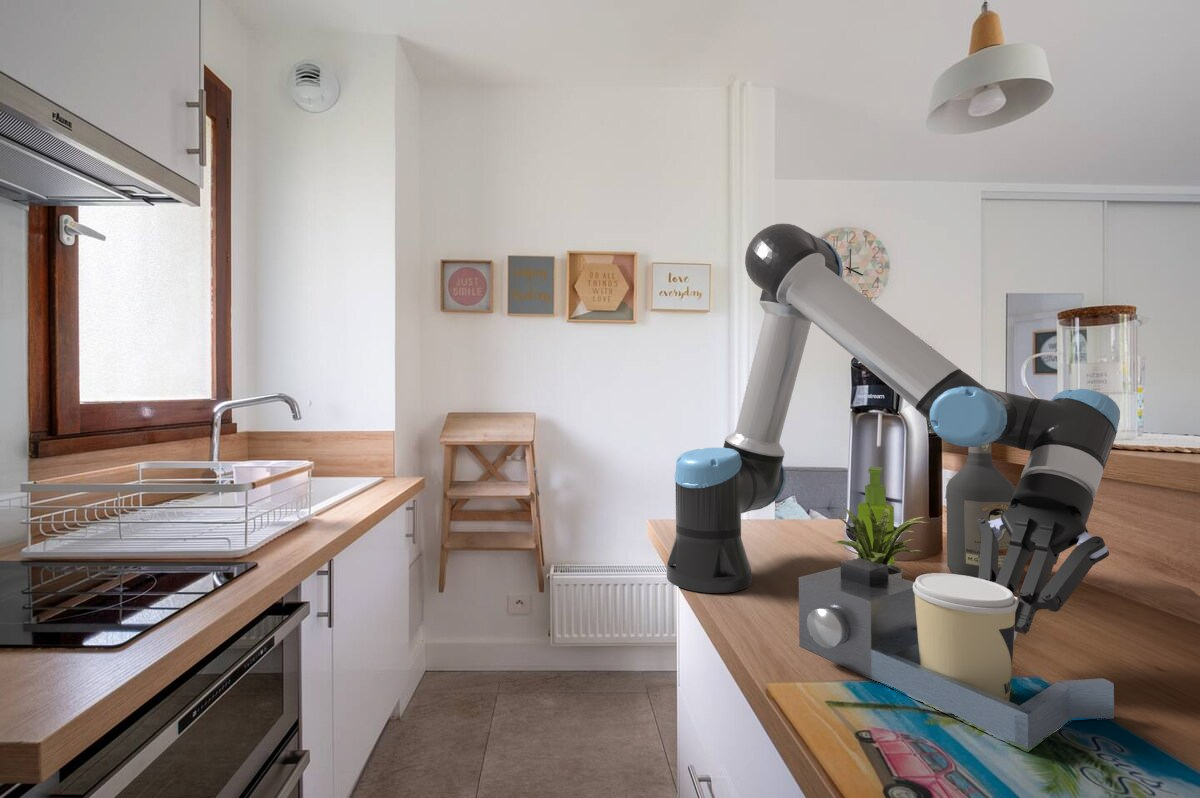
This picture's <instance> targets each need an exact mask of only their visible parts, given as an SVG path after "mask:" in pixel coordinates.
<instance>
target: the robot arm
mask: <svg viewBox="0 0 1200 798" xmlns="http://www.w3.org/2000/svg"><path fill="white" fill-rule="evenodd" d="M744 265H745V270H746V273H747V275H748V277H749V279H750V280H751V281H752V283H753V284H754V285H756V286H757V287H758V288H760V289H761V293H760V299H759V302H758V303H759V304H760V307H761V308H762V310H763V311H764V317H763V320H762V323H761V327H760V332H759V334H758V339H757V344H756V347H755V351H754V356H753V361H752V363H751V364H752V365H751V367H750V372H749V376H748V379H747V384H746V387H745V388H746V389H745V392H744V396H743V398H742V399H743V400H742V404H741V408H740V411H739V416H738V420H737V424H736V428H735V431H733V433H730V434H728V435H727V436H725V439H724V443H723V447H705V448H697V449H691V450H688V451H685V452H683V453H681V454H680V455H679V456H678V457H677V458H676V463H675V473H674V481H675V538H674V541H673V544H672V547H671V550H670V553H669V556H668V560H667V563H666V580H667V582H669V583H670V584H672V585H673V586H676V587H679V588H681V589H684V590H688V591H691V592H692V591H693V592H697V593H709V594H711V593H712V594H724V593H725V594H726V593H735V592H739V591H743V590H745V589H747V588H749V587H750V586H751V585H752V579H753V577H752V575H753V573H752V567H751V564H750V561H749V559H748V555H747V553H746V548H745V546H744V543H743V540H742V514H744V513H747V512H751V511H757V510H761V509H764V508H767V507H768V506H770V505H771V504H772V503H774V502H776V501H777V499H779V498H780V497H781V495H782V494H783V492H784V489H785V487H786V483H787V482H786V481H787V473H786V469H785V468H784V465H783V461H784V458H785V450H784V449H783V447H782V445H781V443H780V441H781V437H782V434H783V429H784V426H785V422H786V419H787V416H788V415H787V414H788V411H789V407H790V403H791V400H792V395H793V392H794V388H795V386H796V385H795V384H796V380H797V377H798V374H799V369H800V365H801V363H802V359H803V354H804V350H805V347H806V344H807V339H808V337H809V333H810V328H811V325H812V324H814V325H815V326H817V327H818V328H819V329H820V330H821V331H823V333H825V334H826V336H828V337H830V338H831V339H832V340H833V341H834V342H836V343H837V344H838V345H839V346H840V347H842V348H843V350H846V352H847V353H849V354H850V356H852V357H853V358H855V359H856V360H857V361H858V362H860V363H861V364H862V365H863V366H864V367H865V368H866V369H868V370H869V371H870V372H871V373H873V374H874V375H875V376H876V377H878V378H879V380H881V381H882V382H883V383H885V384H886V385H887V386H888V387H889V388H890V389H892V390H893V392H895V393H896V394H898V395H899V397H901V398H902V399H904V400H905V401H906V402H907V403H908V404H909V405H911V406H912V407H913V408H915V409H916V411H918V412H919V414H920V415H921V416H923V417H924V418H925V419H926V420H927V421H929V422H930V425H931V427H932V429H933V431H934V433H935V434H936V435H937V436H938V437H939V438H940V439H942V440H943V441H945V442H947V443H949V444H951V445H954V446H957V447H962V448H965V447H967V448H969V447H979V446H984V445H986V444H988V443H990V442H991V443H993V444H997V445H998V444H999V445H1002V446H1007V447H1010V448H1011V447H1012V448H1015V449H1018V450H1023V451H1028V452H1030V453H1029V457H1028V459H1027V460H1026V463H1025V465H1024V467H1023V469H1022V472H1021V474H1020V479H1019V480H1018V482H1017V484H1016V487H1015V492H1014V494H1013V497H1012V499H1011V504H1010V507H1009V509H1008V510H1006V511H1005V512H1004V513H1003V514H1002V515H1001V518H999V519H995V520H991V521H988V520H987V519H985V518H980V519H978V520H977V523H978V526H979V528H980V530H981V532H982V534H981V548H980V562H979V575H978V578H980V579H984V580H988V581H991V582H994V583H997V584H999V585H1002V586H1004V587H1006V588H1007V589H1009V590H1010V591H1011V592H1012V593H1013V595H1014V598H1015V599H1016V600H1017V609H1016V610H1015V629H1014V642H1015V641H1016V638H1017V636H1018V633H1019V634H1023V635H1026V634H1027V633H1028V632H1029V631H1030V628H1031V626H1032V623H1033V621H1034V618H1035V614H1036V613H1037V611H1039V610H1048V611H1049V612H1052V613H1055V612H1059V611H1060V610H1061V609H1062V607H1063V606H1064V605H1065V603H1066V602H1067V601H1068V599H1069V598H1070V597H1071V596H1072V594H1073V592H1074V591H1075V590H1076V589H1077V587H1078V586H1079V585H1080V583H1081V582H1082V581H1083V579H1084V578H1085V577H1086V576H1087V574H1088V573H1089V571H1090V570H1091V568H1092V567H1093V566H1094V565H1096V564H1098V563H1099V562H1101V561H1103V560H1104V559H1106V558H1107V557H1109V556H1110V551H1109V549H1108V546H1107V545H1106V542H1105V539H1103V538H1102V537H1100V536H1098V535H1097V536H1096V535H1094V536H1093V535H1091V534H1090V533H1089V531H1088V529H1087V523H1088V520H1089V518H1090V514H1091V512H1092V509H1093V505H1094V499H1095V498H1096V496H1097V493H1098V489H1099V486H1100V483H1101V481H1102V477H1103V475H1104V470H1105V468H1106V465H1107V462H1108V460H1109V456H1110V454H1111V451H1112V448H1113V445H1114V442H1115V439H1116V437H1117V433H1118V427H1119V423H1120V421H1121V420H1120V419H1121V411H1120V410H1121V409H1120V408H1119V406H1118V404H1117V402H1116V401H1114V400H1113V399H1112V398H1111V397H1109V396H1108V395H1106V394H1104V393H1102V392H1099V391H1096V390H1093V389H1087V388H1078V389H1072V390H1071V389H1065V390H1062V391H1060V392H1058V393H1056V394H1055V395H1054V396H1053V397H1052V398H1051V399H1050V400H1049V399H1043V398H1038V397H1037V398H1036V397H1034V398H1033V397H1029V396H1024V395H1019V394H1015V393H1009V392H1006V391H1001V390H1000V391H999V390H994V389H990V388H986V387H985V386H983V385H982V384H981V383H980V382H978V380H976V379H975V378H973V377H972V376H970V375H969V374H967V373H966V372H965V371H963V370H962V369H961V368H959V367H958V366H957V365H955V364H954V363H953V362H951V361H950V360H949V359H947V358H946V357H945V356H944V355H943V354H941V353H940V352H939V351H937V350H936V349H934V348H933V347H932V346H931V345H930V344H929V343H927V342H925V341H924V340H923V339H921V338H920V337H919V336H918V335H916V334H915V333H914V332H912V331H911V330H910V329H908V327H906V326H905V325H903V324H902V323H901V322H899V321H898V320H896V318H894V317H893V316H891V314H890V313H887V312H886V311H885V310H883V309H882V308H881V307H879V306H878V305H877V304H876V303H874V302H873V301H872V300H871V299H870V298H868V297H867V296H865V295H864V294H863V293H862V292H860V291H859V290H858V289H856V288H855V287H853V286H852V285H851V284H850V283H848V282H847V281H845V280H844V279H843V273H844V268H843V267H844V266H843V261H842V259H841V256H840V254H839V253H838V252H837V250H836V249H835V248H834V247H833V246H832V245H831V244H830V243H829V242H828V241H826V240H825V239H824V238H821V237H817V236H816V235H813V234H812V233H810V232H808V231H806V230H804V229H803V228H802V227H800V226H797V225H795V224H791V223H776V224H772V225H769V226H767V227H765V228H763V229H762V230H761V231H759V232H757V234H756V235H755V236H754V237H753V238H752V239H751V240H750V243H749V244H748V246H747V249H746V252H745V257H744ZM1005 528H1006V530H1007V532H1008V533H1009V535H1010V537H1011V538H1010V546H1009V549H1008V551H1007V554H1006V556H1005V559H1004V561H1003V564H1002V566H1001V569H1000V572H999V574H998V556H999V543H998V539H1000V538H1001V535H1002V530H1003V529H1005ZM1074 546H1076V547H1074ZM1071 547H1074V549H1073V550H1072V551H1071V552H1070V553H1069V555H1068V556H1067V557H1066V559H1065V560H1064V561H1063V562H1062V564H1061V565H1060V567H1059V568H1058V569H1057V570H1056V572H1055V573H1054V575H1053V576H1052V577H1051V578H1050V576H1051V573H1052V571H1053V569H1054V566H1055V565H1057V562H1058V559H1059V557H1060V554H1061V553H1062V552H1065V551H1066V550H1068V549H1070V548H1071ZM1029 560H1031V561H1030V563H1029V566H1028V569H1027V572H1026V574H1025V576H1024V579H1023V580H1024V581H1023V582H1022V586H1021V588H1020V590H1019V589H1018V586H1019V584H1020V582H1021V578H1022V576H1023V573H1024V571H1025V568H1026V566H1027V563H1028V561H1029ZM997 576H998V577H997ZM1049 579H1050V580H1049ZM1016 593H1017V594H1018V596H1019V597H1017V596H1015V595H1016Z"/></svg>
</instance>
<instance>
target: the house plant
mask: <svg viewBox="0 0 1200 798" xmlns="http://www.w3.org/2000/svg"><path fill="white" fill-rule="evenodd" d="M867 503H868V502H867ZM887 504H888V503H886V507H885V509H884V513H883V515H882V516H881V518H880V520H879V522H878V524H877V521H876V518H875V515H874V513H873V511H872V508H871V506H870V505H869V504H868V507H869V511H870V515H867V516H869V517H870V519H871V522H872V532H873V538H874V541H873V549H872V546H871V542H870V538H869V535H868V532H867V529H866V525H865V523H864V521H863V519H862V521H861V523H860V521H859V519H858V516H857V515H855V514H854V513H852V512H851V510H849V509H847V508H845V507H843V509H844V510H845V512H846V513H847V515H848V516H849V518H850V521H851V523H852V524H853V526H854V527H852V526H851V525H850V524H849V523H848V522H847V521H846V520H845V519H843V518H841V517H840V516H838V518H839V519H840V520H841V521H842V522H843V523H844V524H845V525H846V526H847V528H848V529H849V530H850V531H851V532H852V533H853V534H854V536H855V538H856V540H855V541H853V540H847V541H846V540H837V541H835V542H834V544H838V545H839V544H840V545H845V546H848V547H850V548H853V549H854V550H855V551H856V553H857V555H858V554H859V555H860V557H861V559H865V560H869V561H873V562H876V563H880V564H884V565H888V575H891V576H894V577H898V578H902V579H903V569H902V568H900V567H899V566H897V565H895V564H894V565H892V564H888V562H889V560H890V559H891V557H892V556H893V555H894V556H895V555H896V554H897V553H900V552H907V553H911V554H912V553H913V554H915V555H916V556H919V557H920V558H921V559H923V558H922V556H921V555H920V554H919V553H918V552H922V550H921V549H914V550H913V549H912V548H911V547H909V546H906V545H905V544H906V543H907V542H910V541H915V540H916V539H915V538H914V539H913V538H911V539H910V538H909V539H904V540H902V541H897V540H898V539H899V538H900V536H901V535H902V534H903V533H906V532H907V533H909V532H910V533H914V531H913V530H910V529H911V526H912V525H919V523H922V524H923V523H928V524H929V523H930V522H928V521H923V520H919V519H923V518H926V517H928V516H918V517H913V518H910V519H907V520H906V521H904V522H903V523H901V524H900V525H899V526H897V527H896V528H894V530H891V531H888V532H886V531H887V528H888V526H889V523H890V521H889V514H890V511H889V510H888V506H887ZM891 533H892V534H891ZM889 534H891V536H890V537H889V538H888V540H887V541H885V542H884V538H885V536H886V535H889ZM893 538H894V539H893ZM892 540H893V541H892ZM895 543H896V544H895ZM889 545H890V546H889ZM893 545H894V546H893ZM888 546H889V547H888ZM887 547H888V549H887ZM907 548H909V549H907ZM886 549H887V550H886ZM885 551H886V552H885ZM884 553H885V554H884ZM907 553H905V554H904V555H903V556H901V558H903V557H904V556H905V555H907ZM899 560H900V558H898V559H897V560H894V563H896V562H897V561H899ZM923 561H924V560H923Z"/></svg>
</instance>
